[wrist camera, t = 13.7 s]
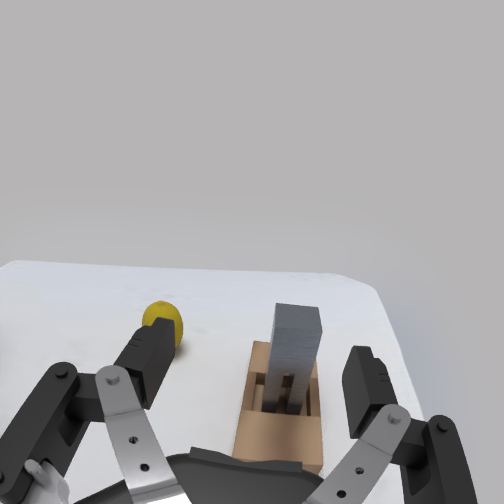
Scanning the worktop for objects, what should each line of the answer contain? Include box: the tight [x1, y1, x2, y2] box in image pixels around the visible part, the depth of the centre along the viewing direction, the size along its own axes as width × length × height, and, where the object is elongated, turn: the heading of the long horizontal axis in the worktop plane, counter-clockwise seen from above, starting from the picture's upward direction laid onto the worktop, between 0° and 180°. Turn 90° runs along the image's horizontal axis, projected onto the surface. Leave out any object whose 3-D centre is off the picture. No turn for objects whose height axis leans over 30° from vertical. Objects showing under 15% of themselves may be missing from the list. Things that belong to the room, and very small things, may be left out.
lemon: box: [142, 301, 183, 348], centre depth 39 cm, size 6×6×8 cm
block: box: [261, 303, 322, 416], centre depth 29 cm, size 4×4×12 cm
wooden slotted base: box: [232, 341, 323, 475], centre depth 31 cm, size 8×18×4 cm, turn 174°
